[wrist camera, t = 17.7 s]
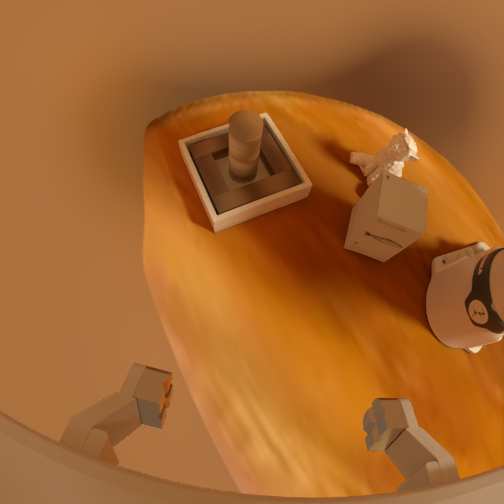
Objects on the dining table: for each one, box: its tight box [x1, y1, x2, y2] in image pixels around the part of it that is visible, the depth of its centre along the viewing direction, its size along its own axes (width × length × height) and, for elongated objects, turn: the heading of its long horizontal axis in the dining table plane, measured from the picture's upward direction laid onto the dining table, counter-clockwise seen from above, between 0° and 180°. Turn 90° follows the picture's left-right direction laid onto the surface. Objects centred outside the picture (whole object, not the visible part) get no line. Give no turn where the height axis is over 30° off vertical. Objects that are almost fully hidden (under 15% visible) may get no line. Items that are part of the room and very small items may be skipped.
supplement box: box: [344, 170, 428, 262], centre depth 42 cm, size 7×7×13 cm
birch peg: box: [229, 110, 263, 184], centre depth 44 cm, size 4×4×12 cm
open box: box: [178, 113, 313, 233], centre depth 48 cm, size 16×16×4 cm
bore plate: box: [189, 123, 300, 215], centre depth 48 cm, size 13×13×2 cm
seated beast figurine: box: [350, 129, 420, 191], centre depth 46 cm, size 10×9×12 cm
